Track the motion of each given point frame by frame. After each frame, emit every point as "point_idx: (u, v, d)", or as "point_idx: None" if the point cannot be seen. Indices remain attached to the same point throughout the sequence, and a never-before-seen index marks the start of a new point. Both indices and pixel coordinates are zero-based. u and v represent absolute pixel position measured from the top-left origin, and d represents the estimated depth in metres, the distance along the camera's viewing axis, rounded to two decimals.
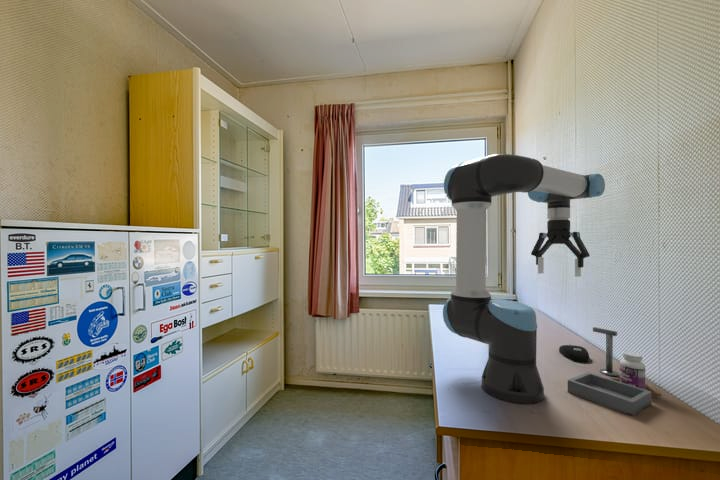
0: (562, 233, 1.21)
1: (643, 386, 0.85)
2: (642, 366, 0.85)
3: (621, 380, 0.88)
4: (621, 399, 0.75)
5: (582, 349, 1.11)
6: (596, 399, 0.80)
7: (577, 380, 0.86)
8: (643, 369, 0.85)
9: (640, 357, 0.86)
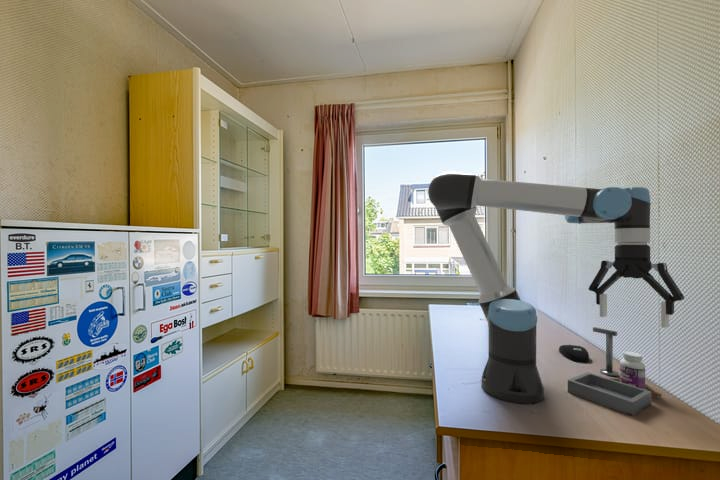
0: (639, 264, 0.86)
1: (643, 386, 0.85)
2: (642, 366, 0.85)
3: (621, 380, 0.88)
4: (621, 399, 0.75)
5: (582, 349, 1.11)
6: (596, 399, 0.80)
7: (577, 380, 0.86)
8: (643, 369, 0.85)
9: (640, 357, 0.86)
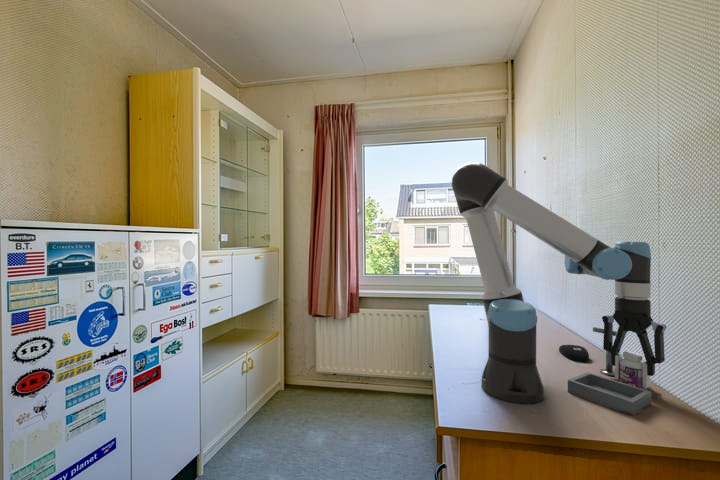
0: (640, 317, 0.86)
1: None
2: (642, 366, 0.85)
3: (621, 380, 0.88)
4: (621, 399, 0.75)
5: (582, 349, 1.11)
6: (596, 399, 0.80)
7: (577, 380, 0.86)
8: None
9: (640, 357, 0.86)
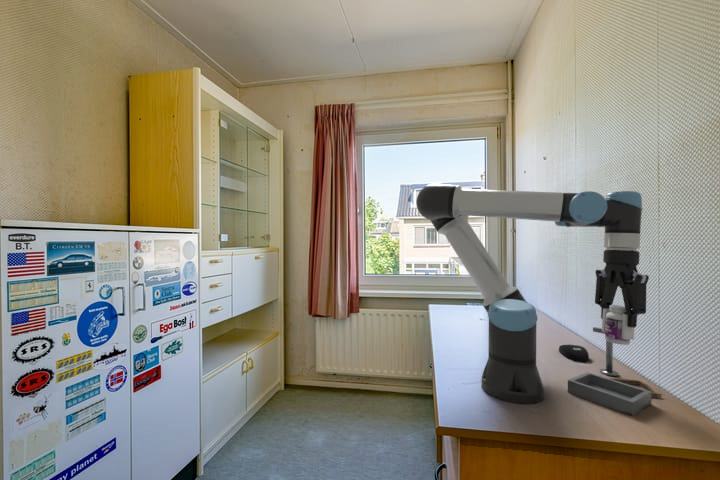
0: (624, 268, 0.84)
1: None
2: None
3: (605, 332, 0.88)
4: (621, 399, 0.75)
5: (582, 349, 1.11)
6: (596, 399, 0.80)
7: (577, 380, 0.86)
8: None
9: (623, 309, 0.84)
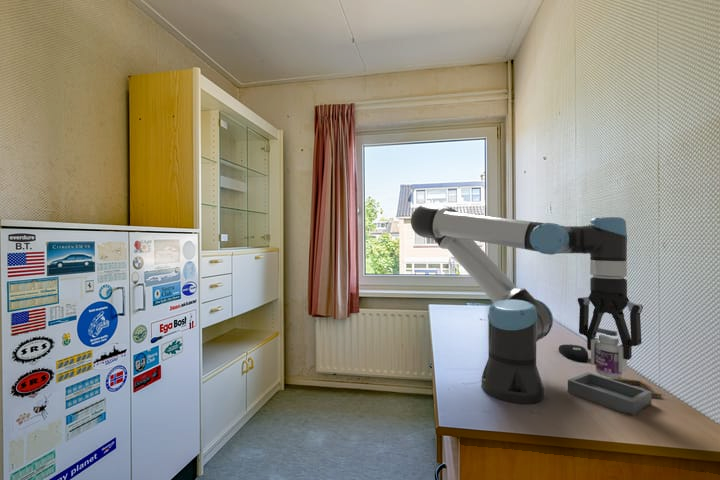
0: (616, 297, 0.80)
1: None
2: (618, 349, 0.80)
3: (597, 365, 0.83)
4: (621, 399, 0.75)
5: (581, 348, 1.11)
6: (596, 399, 0.80)
7: (577, 380, 0.86)
8: None
9: (616, 340, 0.81)
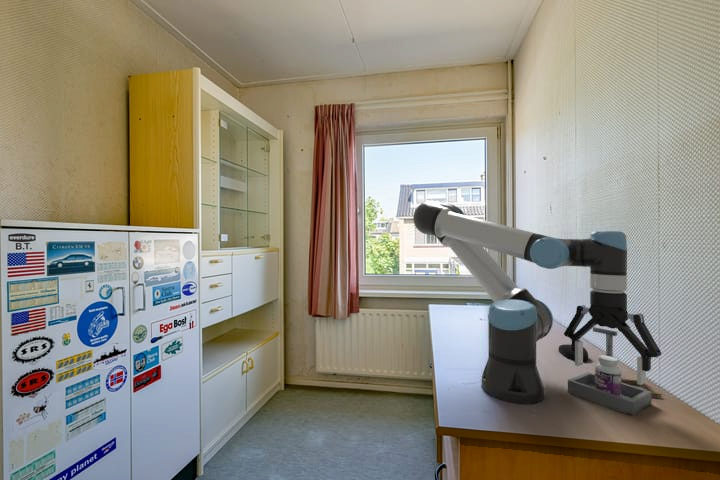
0: (615, 313, 0.81)
1: (619, 392, 0.80)
2: (617, 371, 0.80)
3: (596, 386, 0.83)
4: (621, 399, 0.75)
5: None
6: (596, 399, 0.80)
7: (577, 380, 0.86)
8: (619, 374, 0.80)
9: (616, 361, 0.81)
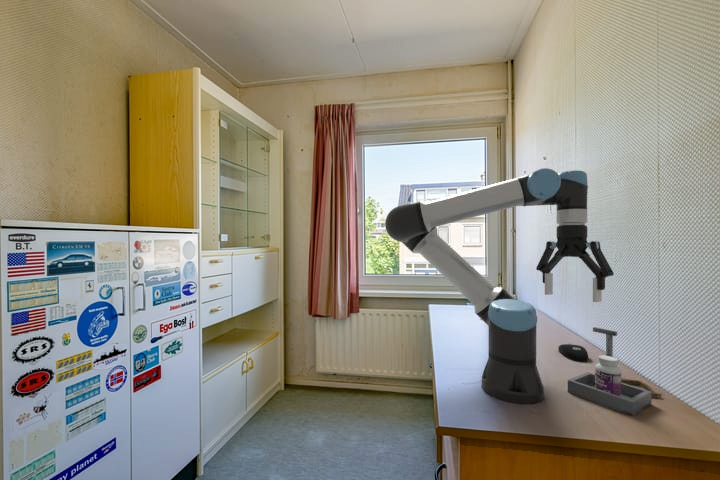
0: (576, 243, 0.91)
1: (619, 392, 0.80)
2: (617, 371, 0.80)
3: (596, 386, 0.83)
4: (621, 399, 0.75)
5: (581, 348, 1.12)
6: (596, 399, 0.80)
7: (577, 380, 0.86)
8: (619, 374, 0.80)
9: (616, 361, 0.81)
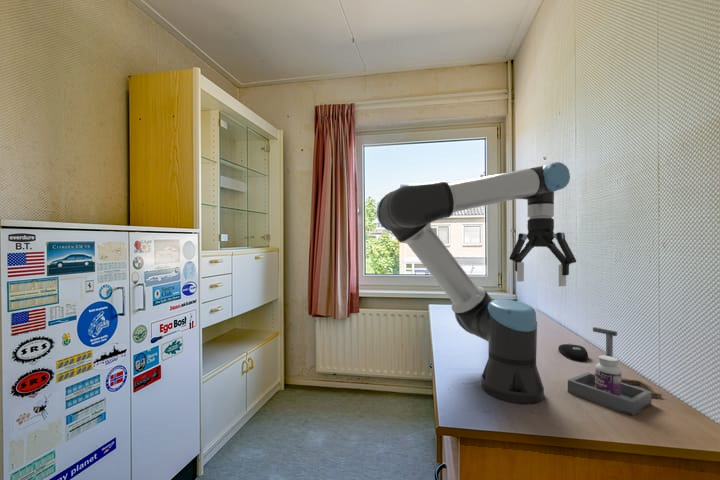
0: (544, 234, 1.02)
1: (619, 392, 0.80)
2: (617, 371, 0.80)
3: (596, 386, 0.83)
4: (621, 399, 0.75)
5: (581, 348, 1.12)
6: (596, 399, 0.80)
7: (577, 380, 0.86)
8: (619, 374, 0.80)
9: (616, 361, 0.81)
